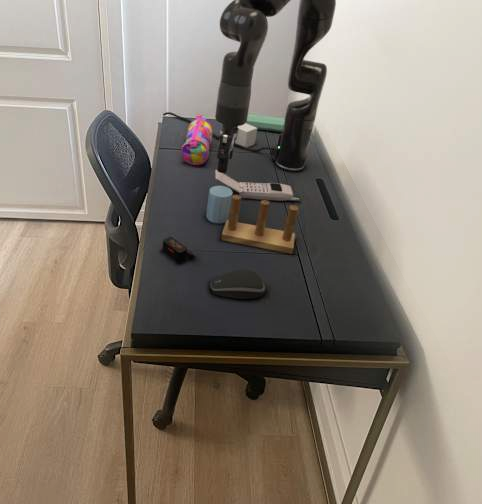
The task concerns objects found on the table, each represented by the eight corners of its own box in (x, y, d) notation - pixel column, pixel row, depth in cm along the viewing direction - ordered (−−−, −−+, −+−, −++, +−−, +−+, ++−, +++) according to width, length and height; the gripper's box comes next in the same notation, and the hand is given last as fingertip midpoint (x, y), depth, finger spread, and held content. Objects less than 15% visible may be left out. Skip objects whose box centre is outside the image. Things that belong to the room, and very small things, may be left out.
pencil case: (184, 138, 173) (186, 113, 167) (211, 141, 173) (214, 116, 168) (179, 165, 155) (181, 138, 150) (209, 169, 155) (212, 142, 150)
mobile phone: (214, 169, 143) (299, 175, 144) (212, 186, 146) (295, 193, 148) (215, 179, 138) (303, 185, 140) (213, 197, 141) (298, 203, 143)
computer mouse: (208, 278, 111) (210, 264, 109) (262, 280, 113) (265, 266, 110) (211, 298, 106) (213, 284, 103) (267, 300, 107) (270, 286, 105)
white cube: (254, 144, 175) (257, 128, 171) (244, 148, 171) (247, 132, 167) (241, 138, 178) (244, 122, 174) (231, 142, 174) (233, 126, 170)
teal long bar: (232, 110, 182) (299, 118, 181) (232, 111, 188) (297, 119, 187) (230, 127, 183) (297, 135, 182) (230, 127, 189) (295, 135, 188)
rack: (221, 240, 124) (226, 202, 118) (225, 225, 130) (231, 188, 123) (292, 254, 122) (301, 216, 116) (293, 238, 128) (302, 202, 121)
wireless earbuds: (180, 266, 114) (181, 254, 112) (161, 251, 118) (162, 240, 116) (195, 259, 117) (196, 247, 115) (176, 244, 120) (177, 233, 119)
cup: (208, 209, 135) (211, 183, 131) (230, 213, 135) (234, 188, 130) (204, 220, 131) (207, 194, 126) (226, 225, 130) (230, 198, 125)
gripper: (245, 114, 108) (235, 180, 117) (253, 94, 119) (243, 156, 129) (211, 108, 109) (204, 174, 118) (222, 89, 120) (215, 151, 130)
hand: (224, 164), depth 123 cm, fingers open, 8 cm apart
